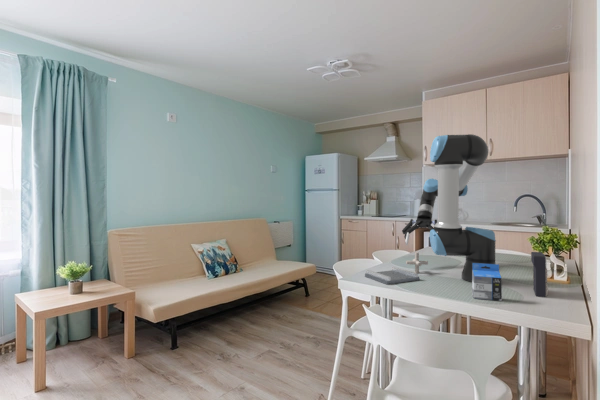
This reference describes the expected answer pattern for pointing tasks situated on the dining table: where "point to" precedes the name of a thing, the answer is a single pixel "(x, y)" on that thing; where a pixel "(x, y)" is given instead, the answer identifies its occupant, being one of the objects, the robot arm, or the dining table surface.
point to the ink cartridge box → (486, 282)
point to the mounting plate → (392, 276)
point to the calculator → (539, 274)
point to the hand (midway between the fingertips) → (419, 244)
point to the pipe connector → (417, 262)
